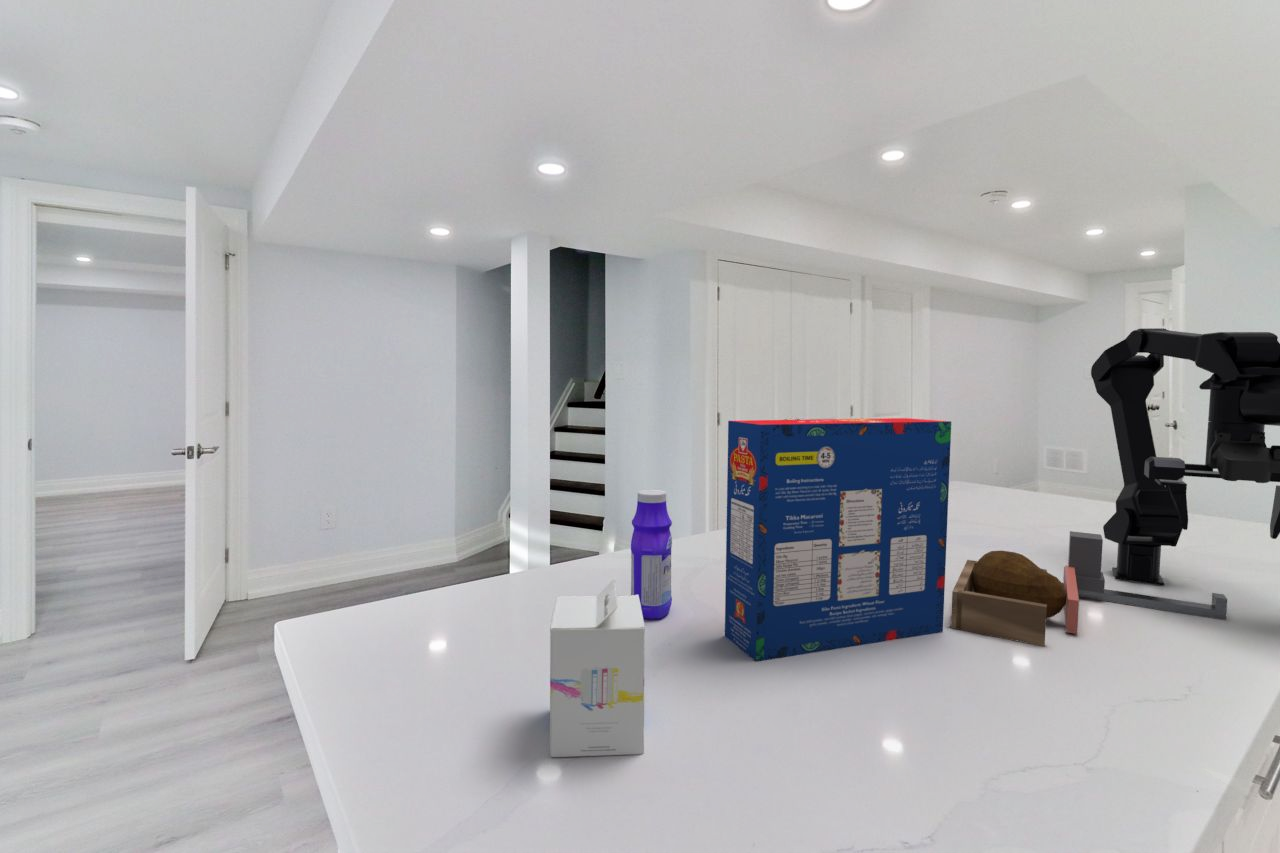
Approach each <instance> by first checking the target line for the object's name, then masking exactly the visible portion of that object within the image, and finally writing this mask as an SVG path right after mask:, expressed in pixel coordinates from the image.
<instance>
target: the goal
mask: <svg viewBox="0 0 1280 853" xmlns="http://www.w3.org/2000/svg"><path fill="white" fill-rule="evenodd" d="M977 562H978V560H973V559H972V560H971V559H967V560H966V562H965V564H964V565H963V566H964V567H963V568H962V570H961V573H960V574H959V576H958V578H957V581H956V583H955V585H954V587H953V589H952V592H951V593H952V594H951V598H952V599H951V612H950V613H951V614H950V616H951V617H950V629H955V630H960V631H966V632H970V633H975V634H980V635H985V636H990V635H991V637H995V636H996V637H995V638H1000V637H1001V639H1005V638H1006V640H1010V639H1012V640H1011V641H1015V640H1018V641H1017V642H1020V641H1022V642H1021V643H1025V642H1027V643H1026V644H1030V643H1032V645H1035V644H1037V645H1036V646H1040V645H1042V646H1041V647H1045V646H1046V644H1045V643H1046V630H1047V618H1046V611H1047V604H1041V603H1035V602H1029V601H1023V600H1017V599H1011V598H1005V597H999V596H993V595H987V594H981V593H975V591H974V588H973V583H972V575H973V569H974V567H975V565H976V564H977ZM1046 572H1047V573H1048V570H1047V571H1046Z"/></svg>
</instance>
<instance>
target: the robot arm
mask: <svg viewBox="0 0 1280 853" xmlns="http://www.w3.org/2000/svg"><path fill="white" fill-rule="evenodd" d="M1278 338H1279V337H1278V336H1277V335H1276V334H1275V333H1273V332H1270V331H1223V332H1222V331H1219V332H1211V333H1193V332H1185V331H1178V330H1177V331H1176V330H1169V329H1166V328H1159V327H1158V328H1153V327H1151V328H1148V327H1147V328H1137V329H1135V330H1134V329H1133V330H1132V331H1131V332H1130V333H1129V334H1128V335H1127V336H1126V338H1125V339H1123V340H1121V341H1119V342H1117V343H1116V344H1113V345H1112V346H1110V347H1108V348H1106V349H1105V350H1104V351H1103V352H1102V353H1101V354H1100V355H1099V357H1098V358H1097V359H1096V360H1095V362H1093V364H1092V366H1091V369H1090V375H1091V378H1092V380H1093V384H1094V386H1095V390H1096V393H1097V394H1098V396H1100V398H1101V399H1103V400H1104V401H1105V402H1106V404H1108V405H1109V407H1110V412H1111V417H1112V423H1113V428H1114V434H1115V440H1116V445H1117V451H1118V457H1119V462H1120V469H1121V474H1122V479H1123V480H1122V481H1123V486H1122V488H1121V491H1120V493H1119V495H1118V497H1117V498H1116V500H1115V512H1114V514H1113V515H1112V516H1111V517H1110V518H1109V519H1108V520H1107V521H1106V522H1105V523H1104V525H1103V528H1102V529H1103V530H1102V531H1103V534H1104V535H1103V536H1104V539H1105V540H1108V541H1110V542H1113V543H1116V544H1117V557H1116V558H1117V559H1116V567H1111V571H1112V574H1113V577H1114V579H1116V580H1122V581H1128V582H1136V583H1142V584H1150V585H1156V586H1165V585H1166V584H1165V581H1164V579H1163V577H1162V575H1161V574H1160V572H1161V570H1160V569H1161V557H1162V556H1161V555H1162V546H1166V547H1167V546H1169V547H1177V546H1178V542H1179V539H1180V538H1181V537H1180V536H1181V534H1182V532H1183V530H1184V531H1187V530H1188V526H1189V513H1188V512H1189V511H1188V502H1187V501H1188V500H1187V487H1188V485H1187V484H1188V483H1186V482H1185V481H1183V479H1184V477H1195V478H1196V477H1197V478H1210V479H1222V480H1224V481H1226V482H1227V481H1228V482H1237V481H1247V482H1255V483H1257V484H1268V483H1270V482H1272V483H1274V482H1275V483H1280V445H1278V444H1277V445H1273V444H1272V445H1271V446H1270V447H1267V444H1266V431H1265V427H1266V426H1274V427H1275V426H1276V427H1280V341H1279V340H1278ZM1138 353H1140V355H1137V354H1138ZM1141 353H1143V354H1145V353H1147V354H1148V355H1147V356H1145V355H1141ZM1165 356H1166V357H1170V358H1176V359H1183V360H1188V361H1192V362H1194V364H1195V366H1196V367H1198V368H1200V369H1202V370H1205V371H1206V372H1209V373H1212V375H1211V376H1210V377H1209V378H1208V379H1206V380H1204V381H1203V382H1201V383H1200V384H1199V386H1198V387H1199V389H1200V390H1207V391H1208V390H1209V405H1208V419H1207V421H1208V422H1207V432H1206V448H1205V463H1204V464H1201V463H1199V464H1198V463H1185V460H1183V459H1181V458H1180V457H1164V456H1162V457H1161V456H1160V457H1159V456H1157V453H1156V448H1155V443H1154V437H1153V432H1152V426H1151V421H1150V418H1149V416H1150V415H1149V411H1148V408H1147V407H1148V406H1147V399H1148V397H1149V395H1150V393H1151V391H1152V390H1153V388H1154V386H1155V377H1154V376H1156V375H1157V373H1159V372H1160V371H1161V369H1163V368H1164V366H1165V361H1164V360H1165ZM1215 469H1216V470H1215ZM1269 525H1270V526H1269V536H1270V539H1273V540H1276V539H1277V538H1278V537H1279V536H1280V485H1275V491H1274V498H1273V504H1272V510H1271V518H1270V523H1269Z"/></svg>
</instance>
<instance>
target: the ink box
mask: <svg viewBox="0 0 1280 853" xmlns="http://www.w3.org/2000/svg"><path fill="white" fill-rule="evenodd" d="M616 581H617V580H615V579H613V580H612V581H610V582H609V583H608V584H607V585H606V586H605V587H604V588H603V589H602V590H601V591H600V592H599V593H598V594H597V595H586V596H585V595H581V596H580V595H579V596H578V595H577V596H572V595H571V596H568V595H567V596H562V595H561V596H560V595H558V596H556V597H555V600H554V606H553V611H552V616H551V621H550V627H549V632H550V634H549V635H550V637H549V639H550V641H549V642H550V646H549V647H550V650H549V655H550V656H549V657H550V658H549V659H550V661H549V687H550V689H549V690H550V691H549V756H550V758H570V757H600V756H625V755H628V756H629V755H642V754H644V752H645V736H644V735H645V642H646V641H645V637H646V636H645V634H646V633H645V632H646V627H645V620H644V618H643V615H642V609H641V604H640V599H639V595H631V594H630V595H617V590H616V589H617V588H616V586H617V585H616Z"/></svg>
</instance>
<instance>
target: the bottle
mask: <svg viewBox="0 0 1280 853" xmlns="http://www.w3.org/2000/svg"><path fill="white" fill-rule="evenodd" d="M636 501H637V504H636V509H635V510H636V511H635V514H634V516H633V518H632V520H631V525H632V527H633V532H632V536H631V540H630V550H631V555H630V558H631V559H630V560H631V561H630V562H631V563H630V564H631V565H630V566H631V567H630V568H631V569H630V572H631V574H630V595H639V599H640V604H641V609H642V615H643V619H648V620H649V619H650V620H657V619H662V618H664V617H665V616H666V615H668V613H669V612H670V610H671V606H672V601H673V597H672V547H673V546H672V545H673V539H672V534H671V533H672V532H671V530H670V528H671V527H672V524H673V521H672V519H671V518H670V515H669V513H668V507H667V491H665V490H661V489H651V488H650V489H642V490H638V491H637V500H636Z"/></svg>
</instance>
